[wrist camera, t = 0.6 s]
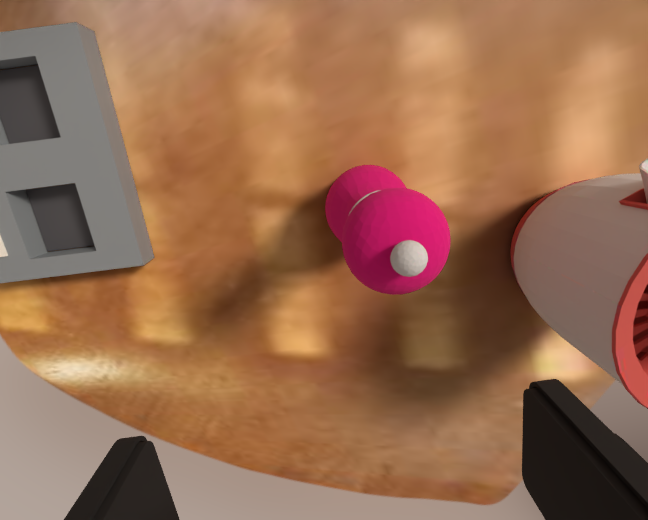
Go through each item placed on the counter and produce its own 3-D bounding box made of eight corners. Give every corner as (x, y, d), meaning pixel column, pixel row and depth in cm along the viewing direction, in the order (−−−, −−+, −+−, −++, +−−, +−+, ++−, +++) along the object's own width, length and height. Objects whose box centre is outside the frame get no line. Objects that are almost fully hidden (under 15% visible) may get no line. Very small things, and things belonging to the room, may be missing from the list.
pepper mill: (329, 242, 38) (345, 343, 19) (318, 168, 36) (325, 197, 16) (401, 232, 38) (492, 323, 18) (395, 157, 35) (490, 173, 16)
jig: (-70, 53, 32) (-104, 45, 29) (94, 31, 32) (74, 21, 29) (16, 275, 38) (-6, 284, 35) (154, 257, 38) (142, 266, 35)
